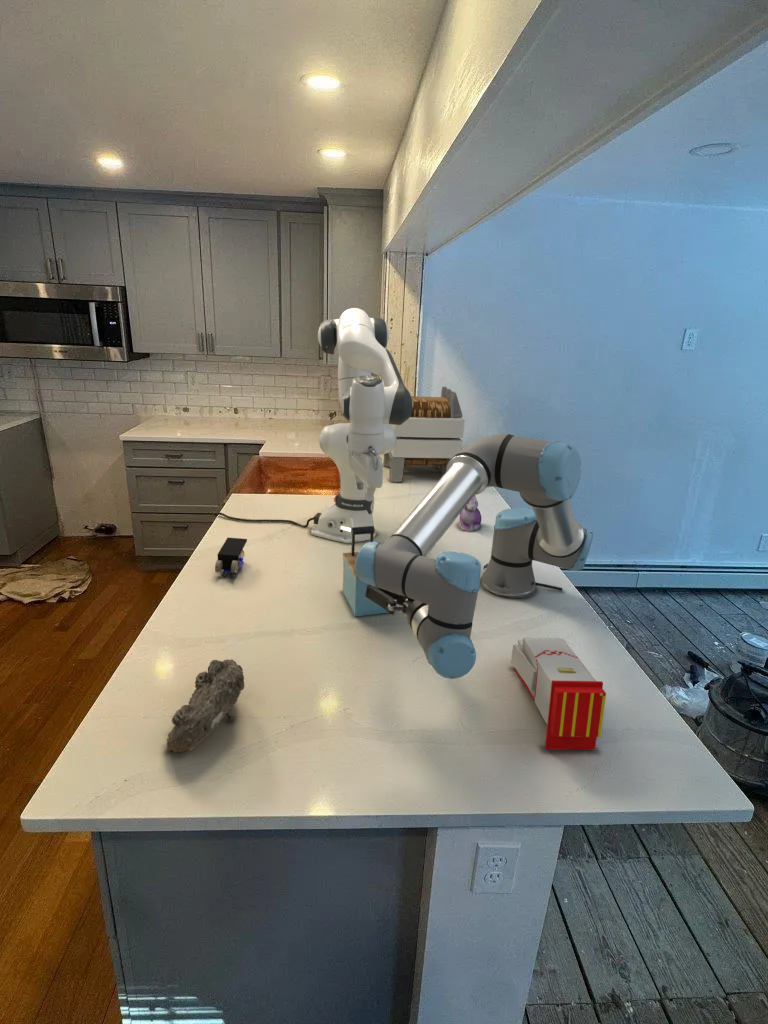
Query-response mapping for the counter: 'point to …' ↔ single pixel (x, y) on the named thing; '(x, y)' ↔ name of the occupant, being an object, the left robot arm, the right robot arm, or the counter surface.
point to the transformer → (427, 435)
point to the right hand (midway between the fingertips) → (405, 582)
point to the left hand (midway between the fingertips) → (364, 494)
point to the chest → (358, 594)
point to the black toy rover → (230, 556)
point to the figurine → (470, 516)
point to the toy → (561, 692)
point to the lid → (352, 555)
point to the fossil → (206, 705)
